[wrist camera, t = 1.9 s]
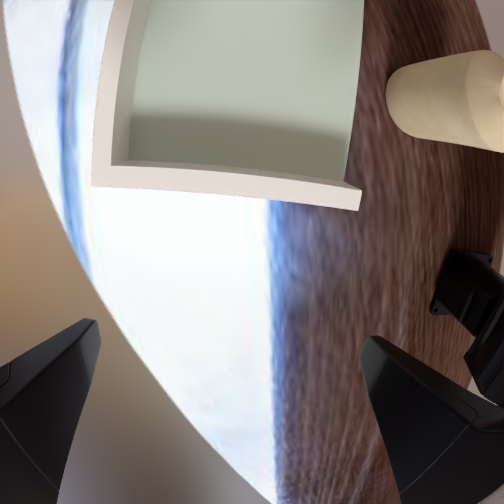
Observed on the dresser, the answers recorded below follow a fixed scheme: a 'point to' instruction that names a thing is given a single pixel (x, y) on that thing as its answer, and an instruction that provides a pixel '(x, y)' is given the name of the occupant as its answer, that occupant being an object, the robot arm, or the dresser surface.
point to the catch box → (230, 98)
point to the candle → (451, 99)
